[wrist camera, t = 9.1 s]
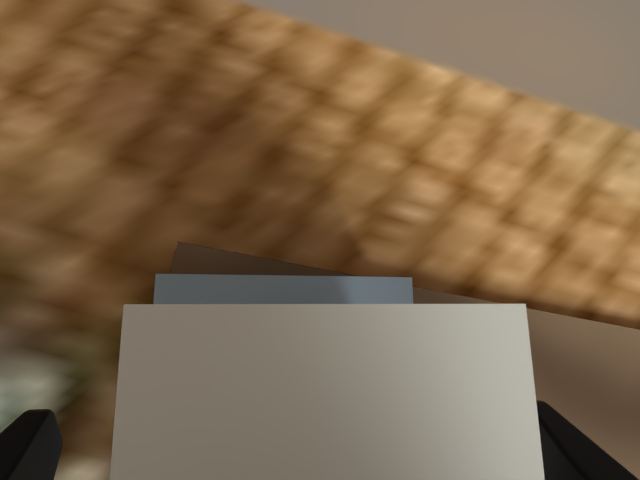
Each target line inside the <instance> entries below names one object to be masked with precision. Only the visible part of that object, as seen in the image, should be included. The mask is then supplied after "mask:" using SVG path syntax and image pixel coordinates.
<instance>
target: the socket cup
mask: <svg viewBox="0 0 640 480" xmlns="http://www.w3.org/2000/svg"><path fill="white" fill-rule="evenodd" d="M153 304H413V287H412V277H361V276H286V275H211V274H156V275H155V288H154V302H153Z"/></svg>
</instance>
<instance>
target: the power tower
mask: <svg viewBox="0 0 640 480" xmlns="http://www.w3.org/2000/svg"><path fill="white" fill-rule="evenodd" d="M110 480H545V477H544V468H543V458H542V449H541V440H540V431H539V421H538V412H537V403H536V394H535V384H534V375H533V366H532V357H531V347H530V338H529V329H528V320H527V310H526V304H124V305H123V318H122V330H121V343H120V355H119V368H118V380H117V393H116V405H115V417H114V430H113V442H112V455H111V467H110Z"/></svg>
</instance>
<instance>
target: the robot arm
mask: <svg viewBox="0 0 640 480" xmlns="http://www.w3.org/2000/svg"><path fill="white" fill-rule="evenodd" d="M536 403H537V412H538V421H539V431H540V440H541V449H542V458H543V468H544V477H545V480H639V479H638V478H637V477H636V476H634V475H633V474H632V473H631V472H630V471H628V470H627V469H626V468H625V467H623V466H622V465H621V464H620V463H619V462H617V461H616V460H615V459H614V458H613V457H611V456H610V455H609V454H608V453H607V452H605V451H604V450H603V449H602V448H601V447H599V446H598V445H597V444H596V443H595V442H593V441H592V440H591V439H590V438H589V437H587V436H586V435H585V434H584V433H583V432H581V431H580V430H579V429H578V428H577V427H575V426H574V425H573V424H572V423H571V422H569V421H568V420H567V419H566V418H565V417H563V416H562V415H561V414H560V413H558V412H557V411H556V410H555V409H554V408H552V407H551V406H550V405H549V404H548V403H546V402H544V401H541V400H536ZM61 449H62V436H61V433H60V430H59V426H58V423H57V420H56V417H55V414H54V412H53V411H51V410H49V409H38V410H28V411H26V412H24V413H23V414H21V415H20V416H19V417H18V418H17V419H16V420H15V421H14V422H12V423H11V424H10V425H9V426H8V427H7V428H6V429H5V430H4V431H2V432H1V433H0V480H53V479H54V476H55V472H56V468H57V465H58V461H59V457H60V453H61Z"/></svg>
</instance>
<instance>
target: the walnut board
mask: <svg viewBox="0 0 640 480" xmlns="http://www.w3.org/2000/svg"><path fill="white" fill-rule="evenodd" d="M170 274H211V275H286V276H355V275H350V274H345V273H339V272H334V271H329V270H324V269H318V268H313V267H308V266H303V265H297V264H292V263H287V262H282V261H276V260H271V259H266V258H261V257H256V256H250V255H245V254H240V253H235V252H229V251H224V250H219V249H214V248H208V247H203V246H198V245H193V244H187V243H182V242H178V244H177V248H176V252H175V256H174V260H173V264H172V268H171V272H170ZM412 287H413V286H412ZM413 304H502V303H497V302H492V301H486V300H481V299H476V298H471V297H465V296H460V295H455V294H450V293H444V292H439V291H434V290H429V289H423V288H418V287H413ZM526 310H527V320H528V329H529V338H530V347H531V357H532V366H533V375H534V384H535V394H536V400H541V401H544V402H546V403H548V404H549V405H550V406H551V407H552V408H554V409H555V410H556V411H557V412H558V413H560V414H561V415H562V416H563V417H565V418H566V419H567V420H568V421H569V422H571V423H572V424H573V425H574V426H575V427H577V428H578V429H579V430H580V431H581V432H583V433H584V434H585V435H586V436H587V437H589V438H590V439H591V440H592V441H593V442H595V443H596V444H597V445H598V446H599V447H601V448H602V449H603V450H604V451H605V452H607V453H608V454H609V455H610V456H611V457H613V458H614V459H615V460H616V461H617V462H619V463H620V464H621V465H622V466H623V467H625V468H626V469H627V470H628V471H630V472H631V473H632V474H633V475H634V476H636V477H637V478H638V479H639V480H640V330H638V329H633V328H628V327H623V326H618V325H612V324H607V323H602V322H597V321H591V320H586V319H581V318H576V317H570V316H565V315H560V314H555V313H549V312H544V311H539V310H534V309H528V308H526Z"/></svg>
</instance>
